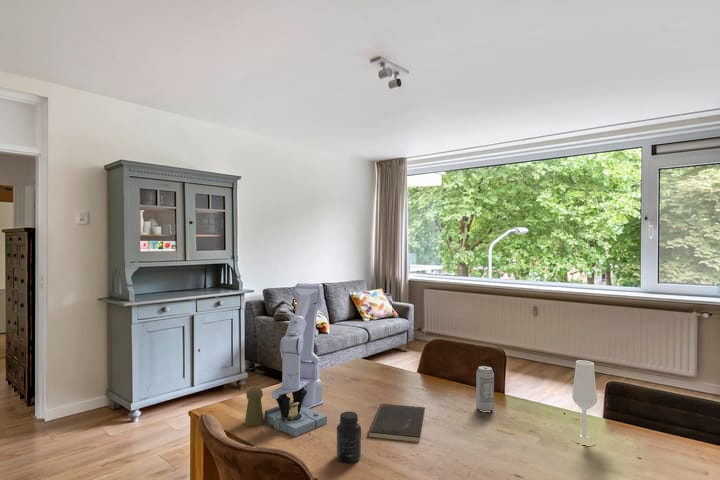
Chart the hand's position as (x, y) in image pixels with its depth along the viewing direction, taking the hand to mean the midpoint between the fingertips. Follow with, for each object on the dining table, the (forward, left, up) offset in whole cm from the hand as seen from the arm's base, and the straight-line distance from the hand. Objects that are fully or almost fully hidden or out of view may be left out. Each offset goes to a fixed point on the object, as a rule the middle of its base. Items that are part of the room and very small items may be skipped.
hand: (290, 414), depth 141 cm
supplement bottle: (+2, +29, -3) cm, 29 cm away
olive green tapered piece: (+8, -9, -3) cm, 13 cm away
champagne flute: (-55, +73, -3) cm, 91 cm away
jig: (-2, 0, -3) cm, 4 cm away
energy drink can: (-56, +40, -3) cm, 69 cm away
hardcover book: (-25, +25, -4) cm, 35 cm away
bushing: (+1, +1, -2) cm, 2 cm away
